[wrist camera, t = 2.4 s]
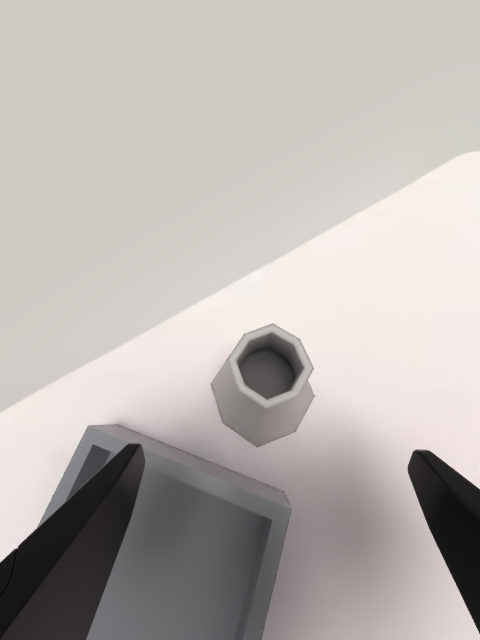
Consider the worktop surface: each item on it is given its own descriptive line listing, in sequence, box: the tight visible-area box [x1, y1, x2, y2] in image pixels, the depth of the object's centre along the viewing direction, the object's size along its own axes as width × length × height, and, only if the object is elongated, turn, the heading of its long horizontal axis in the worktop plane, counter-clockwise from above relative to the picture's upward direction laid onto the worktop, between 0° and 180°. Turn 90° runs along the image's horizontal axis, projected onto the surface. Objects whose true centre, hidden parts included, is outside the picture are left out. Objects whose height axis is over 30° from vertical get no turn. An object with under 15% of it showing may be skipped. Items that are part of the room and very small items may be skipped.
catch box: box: [37, 424, 291, 640], centre depth 14 cm, size 13×13×4 cm
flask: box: [211, 324, 315, 447], centre depth 15 cm, size 7×7×10 cm
